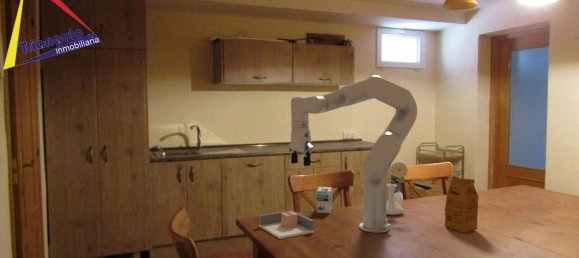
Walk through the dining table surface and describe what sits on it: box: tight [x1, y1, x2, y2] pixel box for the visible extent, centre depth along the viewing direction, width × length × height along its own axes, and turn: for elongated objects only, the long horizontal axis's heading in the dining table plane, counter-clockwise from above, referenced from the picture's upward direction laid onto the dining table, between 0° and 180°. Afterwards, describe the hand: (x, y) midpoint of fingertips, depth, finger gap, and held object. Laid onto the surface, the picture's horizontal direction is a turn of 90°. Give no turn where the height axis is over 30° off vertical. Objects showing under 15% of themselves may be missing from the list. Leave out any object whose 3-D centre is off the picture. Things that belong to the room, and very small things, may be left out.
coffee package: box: [444, 174, 479, 234], centre depth 168 cm, size 10×12×22 cm
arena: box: [258, 209, 315, 240], centre depth 168 cm, size 18×16×5 cm
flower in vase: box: [386, 161, 409, 216], centre depth 191 cm, size 13×11×25 cm
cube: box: [281, 212, 298, 228], centre depth 170 cm, size 5×5×5 cm
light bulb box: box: [316, 186, 333, 214], centre depth 198 cm, size 11×7×11 cm, turn 169°
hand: (300, 164), depth 177 cm, fingers open, 9 cm apart
